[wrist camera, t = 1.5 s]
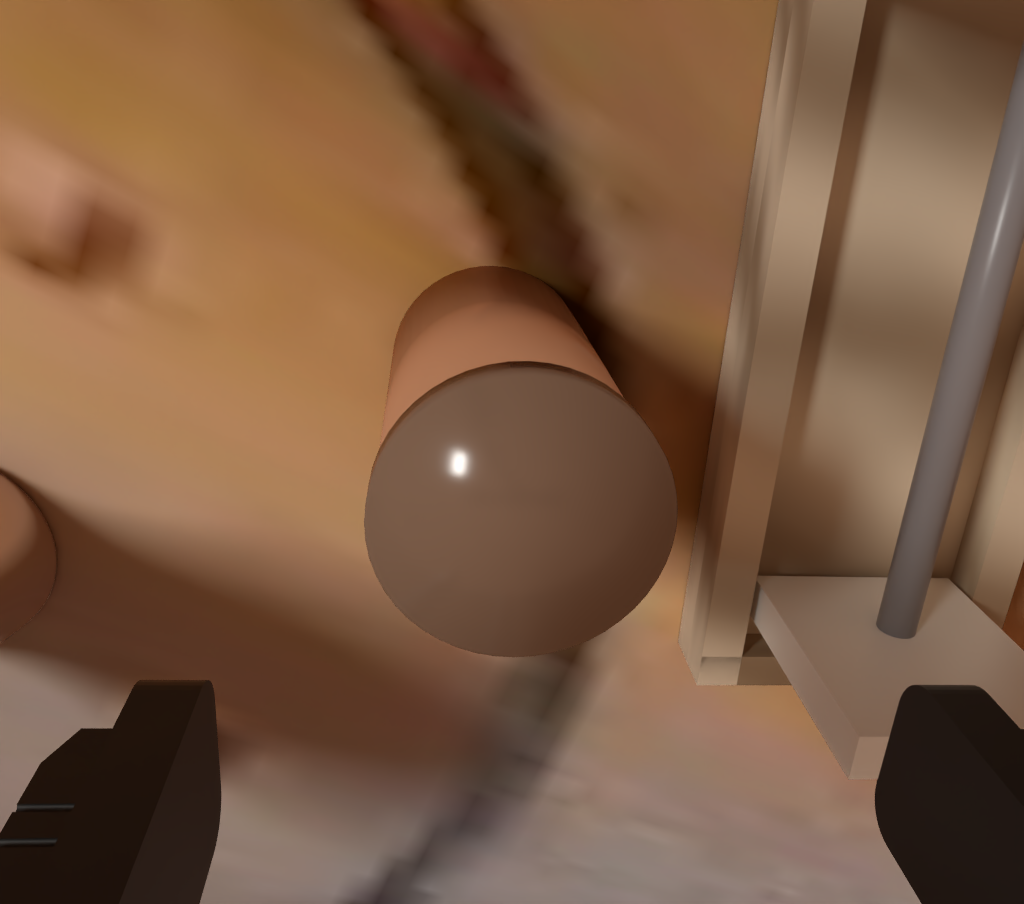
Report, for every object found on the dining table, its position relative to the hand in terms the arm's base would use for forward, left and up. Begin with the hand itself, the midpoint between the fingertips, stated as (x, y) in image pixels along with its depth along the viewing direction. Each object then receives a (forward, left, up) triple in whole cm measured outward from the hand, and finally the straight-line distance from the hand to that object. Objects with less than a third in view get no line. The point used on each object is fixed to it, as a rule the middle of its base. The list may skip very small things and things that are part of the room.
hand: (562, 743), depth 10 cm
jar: (0, 0, -15) cm, 15 cm away
